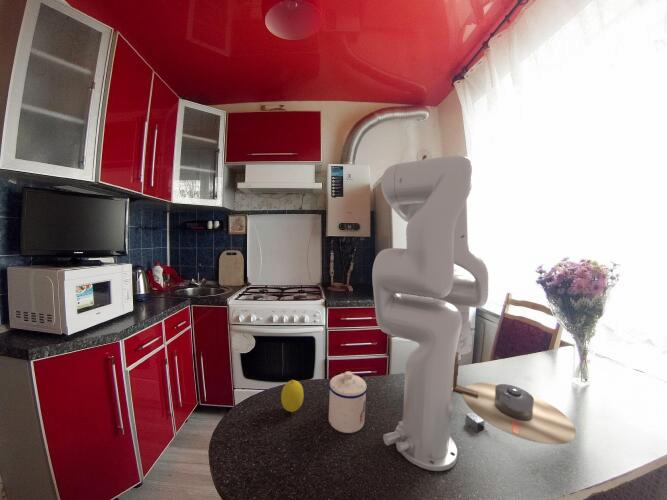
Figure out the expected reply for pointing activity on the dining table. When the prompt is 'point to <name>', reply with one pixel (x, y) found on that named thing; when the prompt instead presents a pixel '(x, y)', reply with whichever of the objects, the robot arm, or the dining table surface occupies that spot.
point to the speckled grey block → (475, 422)
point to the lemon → (292, 396)
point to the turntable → (542, 427)
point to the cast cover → (514, 402)
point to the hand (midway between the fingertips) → (451, 374)
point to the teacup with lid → (347, 402)
